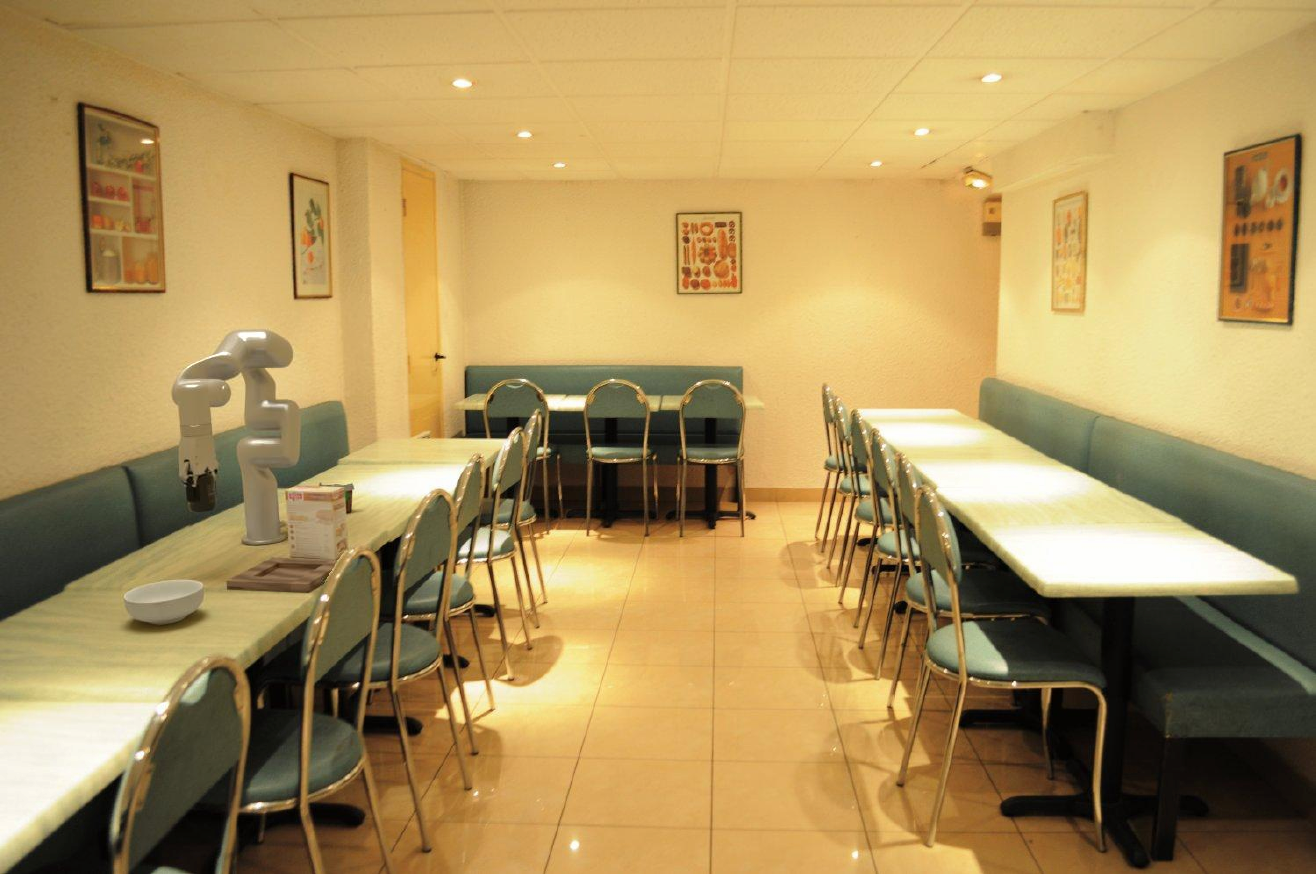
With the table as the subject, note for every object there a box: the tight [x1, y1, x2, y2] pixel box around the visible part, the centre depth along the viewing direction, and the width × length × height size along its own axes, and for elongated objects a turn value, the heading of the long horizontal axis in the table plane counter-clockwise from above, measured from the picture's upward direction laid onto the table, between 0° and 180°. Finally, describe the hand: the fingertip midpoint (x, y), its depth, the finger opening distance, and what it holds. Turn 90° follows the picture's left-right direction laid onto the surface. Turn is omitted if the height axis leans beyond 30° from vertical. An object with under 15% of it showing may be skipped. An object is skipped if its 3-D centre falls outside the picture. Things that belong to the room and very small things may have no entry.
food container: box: [318, 482, 355, 515], centre depth 342 cm, size 12×6×10 cm, turn 81°
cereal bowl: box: [123, 579, 205, 626], centre depth 239 cm, size 17×17×7 cm
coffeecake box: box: [284, 484, 349, 560], centre depth 291 cm, size 15×7×20 cm, turn 74°
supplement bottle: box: [187, 467, 218, 513], centre depth 268 cm, size 7×7×12 cm
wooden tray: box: [225, 557, 338, 594], centre depth 270 cm, size 22×22×2 cm
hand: (201, 497), depth 269 cm, fingers closed on supplement bottle, 6 cm apart
